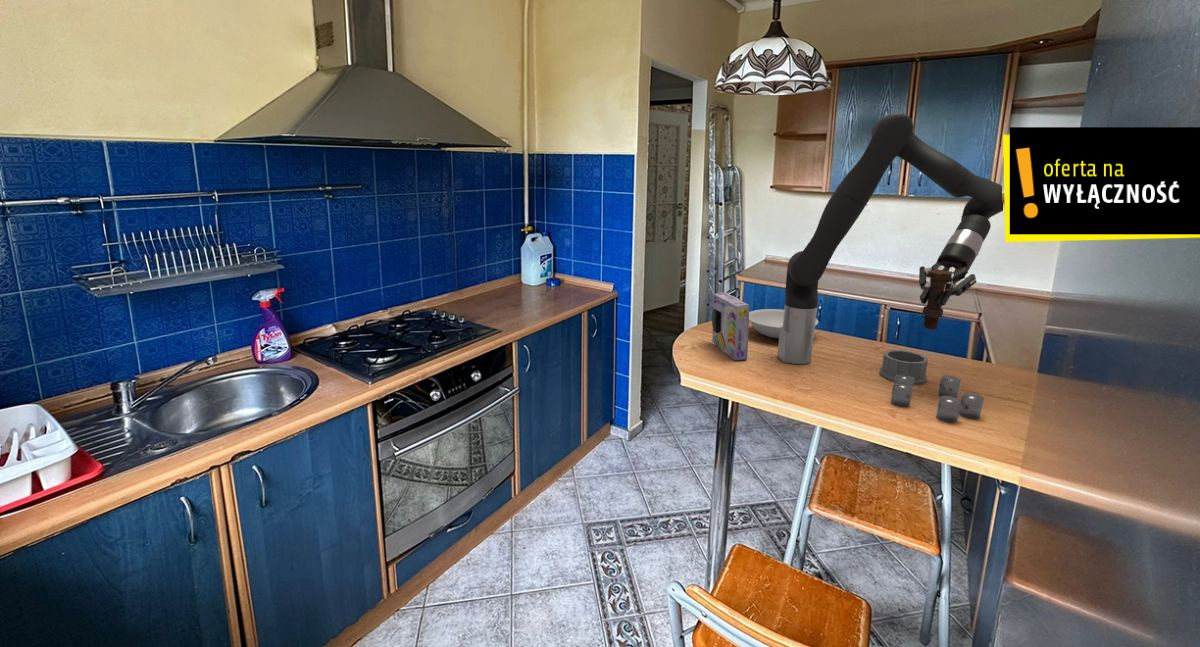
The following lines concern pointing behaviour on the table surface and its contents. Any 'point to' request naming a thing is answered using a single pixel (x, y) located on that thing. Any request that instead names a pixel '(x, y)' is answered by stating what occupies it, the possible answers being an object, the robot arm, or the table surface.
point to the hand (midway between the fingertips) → (930, 303)
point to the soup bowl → (768, 321)
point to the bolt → (935, 297)
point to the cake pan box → (730, 325)
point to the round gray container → (904, 365)
